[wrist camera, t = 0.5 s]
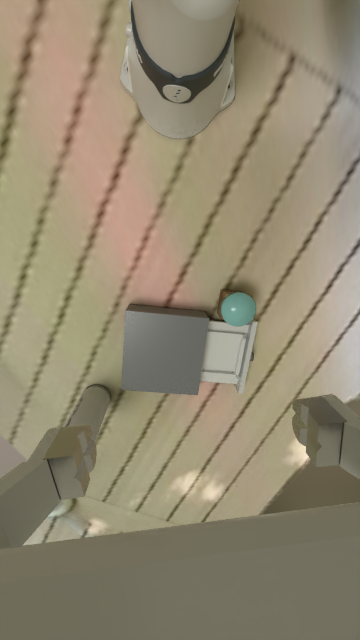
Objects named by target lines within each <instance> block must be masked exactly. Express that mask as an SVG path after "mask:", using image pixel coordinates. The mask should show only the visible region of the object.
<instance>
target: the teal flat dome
mask: <svg viewBox="0 0 360 640" xmlns="http://www.w3.org/2000/svg"><path fill="white" fill-rule="evenodd" d="M220 312H221V315H222V317H223V319H224V320H225V321H226V322H227V323H228V324H229V325H232V326H235V327H240V326H244V325H246V324H248V323H249V322H250V321H251V320H252V319H253V318H254V316H255V313H256V305H255V302H254V300H253V299H252V298H251V297H250V296H249V295H247V294H245V293H243V292H233V293H230V294H229V295H227V296H226V297H225V298H224V299H223V301H222V303H221V306H220Z"/></svg>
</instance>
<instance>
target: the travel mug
mask: <svg viewBox="0 0 360 640" xmlns="http://www.w3.org/2000/svg"><path fill="white" fill-rule="evenodd" d="M110 398H111V396H110V393H109V391H108V390H107V389H106V388H105V387H103V386H101V385H91V386H89V387H87V388H86V389H85V390H84V392H83V394H82V396H81V397H80V399H79V401H78V403H77V404H76V406H75V408H74V410H73V412H72V413H71V415H70V417H69V419H68V420H67V422H66V424H65V426H64V427H67V426H77V425H87V424H88V425H90V426H91V429H92V436H91V438H90V439H92V440H93V441H94V442H95V440H96V438H97V435H98V432H99V429H100V427H101V424H102V421H103V418H104V416H105V413H106V410H107V407H108V405H109V402H110Z"/></svg>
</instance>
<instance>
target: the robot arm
mask: <svg viewBox="0 0 360 640" xmlns="http://www.w3.org/2000/svg"><path fill="white" fill-rule="evenodd" d="M238 3H239V0H129V12H130V13H131V23H129V22H128V23H127V26H126V36H127V37H128V39H127V44H126V49H125V54H124V59H123V64H122V68H121V73H120V79H121V84H122V86H123V88H124V89H125V90H126V91H127V92H128V93H129V94H130V95H131V96H132V97H133V98H134V99H135V101H136V103H137V105H138V107H139V109H140V111H141V113H142V115H143V117H144V118H145V120H146V121H147V122H148V124H149V125H150V126H151V127H152V128H153V129H155V130H156V131H157V132H159V133H160V134H162V135H164V136H167V137H170V138H176V139H182V138H188V137H191V136H194V135H196V134H198V133H199V132H201V131H202V130H203V129H204V128H206V126H207V125H208V124H209V123H210V122H211V120H212V119H213V118H214V116H215V115H216V114H217V113H218V112H219V111H221V110H223V109H225V108H226V107H228V106H229V105H230V104H231V103H232V102H233V100H234V96H235V73H234V21H235V13H236V9H237V6H238ZM127 70H128V71H127ZM228 86H229V89H227V88H228ZM293 410H294V411H295V412H296V414H295V415H294V416H293V418H292V426H293V430H294V433H295V436H296V438H297V439H298V441H299V443H301V444H302V445H304V446H306V453H307V454H308V456H309V457H310V459H311V460H312V462H313V463H314V465H315V466H316V467H323V466H333V465H340V467H342V468H344V469H345V470H346V471H348V472H349V473H351V474H352V475H354V476H355V477H357V478H358V479H359V480H360V417H359V416H358V415H356V414H355V413H354V412H353V411H352V410H351V409H350V408H349V407H347V406H346V405H345V404H344V403H343V402H342V401H341V400H340V399H338V398H337V397H336V396H335V395H333V394H328V395H322V396H318V397H310V398H302V399H294V401H293ZM91 436H92V429H91V426H90V425H88V424H87V425H77V426H67V427H58V428H51V429H49V430H48V431H47V432H46V434H45V435H44V437H43V438H42V440H41V441H40V443H39V444H38V446H37V447H36V449H35V450H34V452H33V453H32V455H31V457H30V458H29V460H28V461H27V462H23V463H21V464H20V465H18V466H17V467H16V468H14V469H13V470H11V471H10V472H9V473H7V474H6V475H4V476H3V477H2V478H0V640H360V502H358V503H351V504H343V505H337V506H328V507H320V508H313V509H304V510H297V511H289V512H281V513H273V514H266V515H257V516H249V517H242V518H234V519H226V520H218V521H211V522H203V523H195V524H188V525H180V526H172V527H165V528H157V529H149V530H141V531H134V532H126V533H118V534H110V535H103V536H95V537H87V538H79V539H72V540H64V541H56V542H49V543H41V544H33V545H25V546H22V545H23V544H24V543H25V542H26V541H27V539H28V538H29V537H30V536H31V535H32V534H33V533H34V531H35V530H36V529H37V528H38V527H39V526H40V524H41V523H42V522H43V521H44V520H45V519H46V518H47V516H48V515H49V514H50V513H51V512H52V511H53V510H54V508H55V507H56V506H57V505H58V504H59V503H60V500H65V499H71V498H77V497H84V496H85V493H86V490H87V487H88V484H89V481H90V477H89V473H90V472H91V471H92V470H93V469H94V466H95V463H96V455H97V452H96V445H95V442H94V441H93V440H92V439H90V438H91Z"/></svg>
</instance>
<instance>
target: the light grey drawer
mask: <svg viewBox="0 0 360 640" xmlns="http://www.w3.org/2000/svg"><path fill="white" fill-rule="evenodd" d="M257 324H258V322H257V321H256V320H255V319H254V318H253V319H252V320H251V321H250V322H249V323H248V324H246V325H244V326H240V327H235V326H232V325H229V324H228V323H227V322H223V321H213V320H209V325H208V331H207V338H206V344H205V351H204V357H203V364H202V371H201V377H200V381H206V382H219V383H233V384H234V385H235V387H236V390H237V392H238V393H240V394H243V390H244V386H245V381H246V376H247V371H248V367H249V362H250V361H253V359H254V354H253V353H251V352H252V348H253V343H254V338H255V333H256V329H257Z"/></svg>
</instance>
